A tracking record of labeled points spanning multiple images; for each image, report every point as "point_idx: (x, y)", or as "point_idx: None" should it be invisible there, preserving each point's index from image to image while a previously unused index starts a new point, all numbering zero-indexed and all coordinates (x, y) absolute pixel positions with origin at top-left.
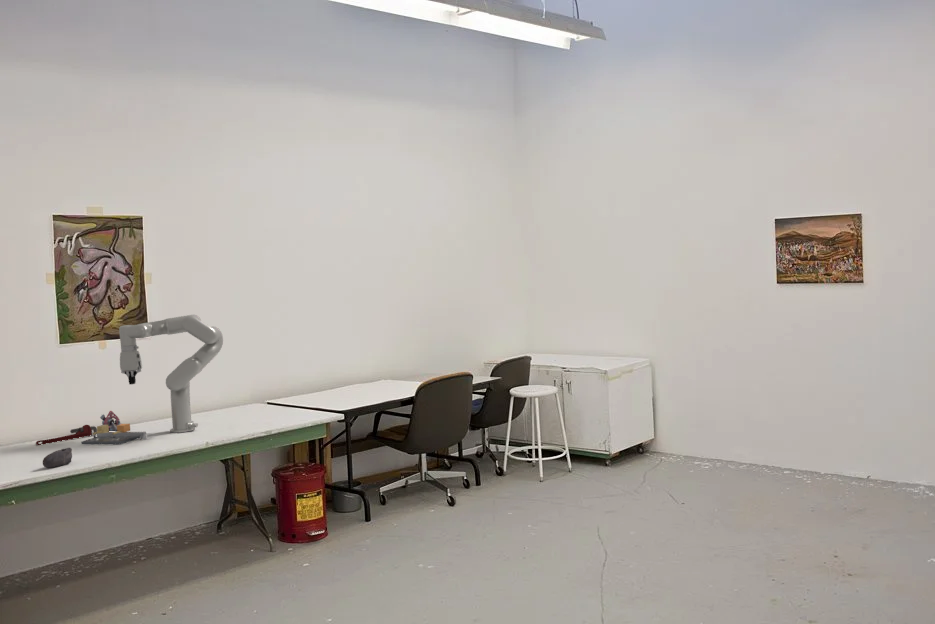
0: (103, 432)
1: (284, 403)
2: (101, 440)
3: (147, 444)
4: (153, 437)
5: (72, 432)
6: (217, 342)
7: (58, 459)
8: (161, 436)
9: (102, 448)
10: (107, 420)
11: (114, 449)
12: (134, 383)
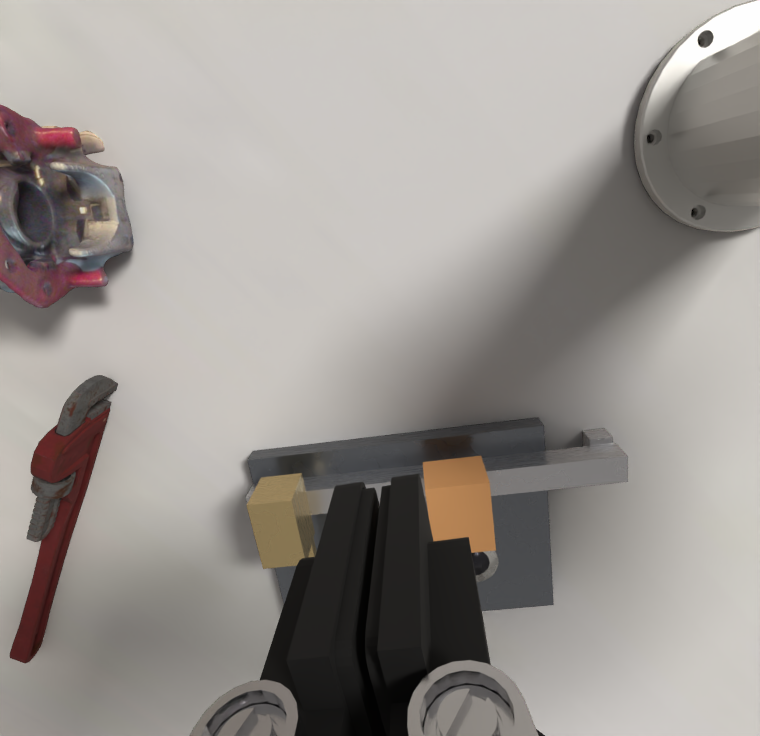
0: (312, 525)
1: None
2: None
3: (735, 575)
4: (636, 394)
5: (51, 526)
6: None
7: None
8: (679, 357)
9: (513, 674)
10: (24, 267)
11: (607, 687)
12: (426, 513)
